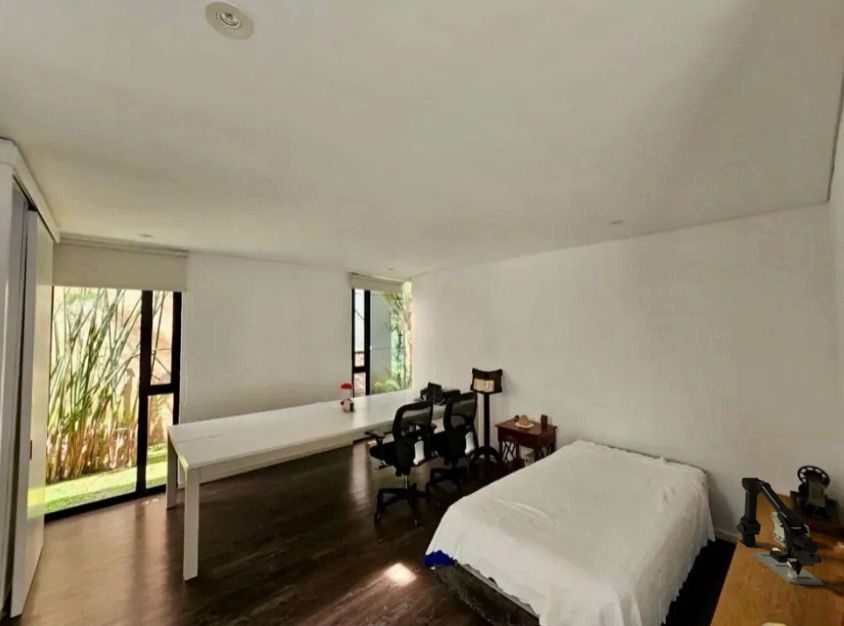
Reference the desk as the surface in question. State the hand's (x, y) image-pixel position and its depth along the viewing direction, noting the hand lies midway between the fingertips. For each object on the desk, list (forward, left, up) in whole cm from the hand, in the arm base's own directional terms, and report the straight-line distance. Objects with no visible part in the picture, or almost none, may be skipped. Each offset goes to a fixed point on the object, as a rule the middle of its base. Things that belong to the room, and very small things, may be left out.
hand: (797, 574), depth 179 cm
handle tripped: (0, -2, -1) cm, 3 cm away
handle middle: (-9, +4, -1) cm, 10 cm away
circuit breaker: (-33, +23, -3) cm, 40 cm away
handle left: (-18, +4, -1) cm, 18 cm away
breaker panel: (-9, +1, -3) cm, 9 cm away
